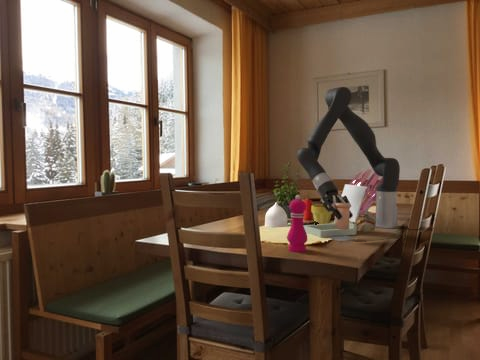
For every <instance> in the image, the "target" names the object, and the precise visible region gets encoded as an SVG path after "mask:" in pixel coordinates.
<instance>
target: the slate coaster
mask: <svg viewBox="0 0 480 360" xmlns="http://www.w3.org/2000/svg"><path fill="white" fill-rule="evenodd" d="M326 238H327V239H330V240H334V241H337V242H340V243H342V242H346V244H348V243H351V242H352V241H359V239H358V238H356V237H352V236H350V235H341V236H329V237H326Z"/></svg>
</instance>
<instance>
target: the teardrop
mask: <svg viewBox="0 0 480 360" xmlns="http://www.w3.org/2000/svg"><path fill="white" fill-rule="evenodd" d="M264 226H265V227H266V228H287V227H289V226H288V214H287V213H286V211H285V210H284V208H283V207H281V206H280V204H278V202H277V201H276V202H275V203H274V205H272V206H271V207H270V208H268V210H267V211H266V213H265V218H264Z"/></svg>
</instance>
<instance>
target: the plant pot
mask: <svg viewBox="0 0 480 360" xmlns="http://www.w3.org/2000/svg"><path fill="white" fill-rule="evenodd" d="M327 207H328V208H329V206H328V205H327ZM310 209H311V210H310V211H311V213H312V217H313V222H314V221H316V222H318V223H319V224H330V222H331V218H332V214H333V213H332V212H331V211H330V212H328V211H327V210H326V209H325V207H324V206H323V205H322V204H312V205H311V208H310Z"/></svg>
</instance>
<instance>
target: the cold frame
mask: <svg viewBox="0 0 480 360" xmlns="http://www.w3.org/2000/svg"><path fill="white" fill-rule="evenodd" d="M366 188H367V187H366V186H364V185H362V186H357V185H355V184H353V185H348V184H344V187H343V191H342V193H341V195H340V196H341V197H344V196H347V198H348V200H349V202H350V204H351V207H350V211H351V213H352V214H353V216H352V217H351V218H350V219H349V229H336V228H335V219H334V220H333V223H329V224H317V225H315V224H305V225H304V224H303V226H304V229H305V231H306V234H308V235H311V236H314V237H318V238H327V237H329V236H341V235H345V236H354V235H357V231H358V229H357V228H358V227H357V226H358V218H359V215H358V214H359V210H360V207H361V205H362V203H363V202H364V199H365V198H364V194H365V191H366ZM363 198H364V199H363ZM341 203H342V202H341ZM350 222H352V223H350Z"/></svg>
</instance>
